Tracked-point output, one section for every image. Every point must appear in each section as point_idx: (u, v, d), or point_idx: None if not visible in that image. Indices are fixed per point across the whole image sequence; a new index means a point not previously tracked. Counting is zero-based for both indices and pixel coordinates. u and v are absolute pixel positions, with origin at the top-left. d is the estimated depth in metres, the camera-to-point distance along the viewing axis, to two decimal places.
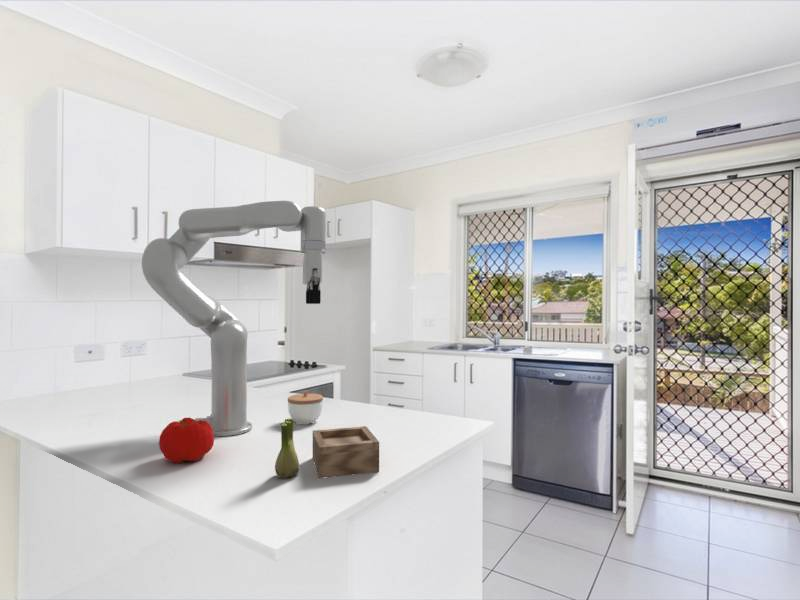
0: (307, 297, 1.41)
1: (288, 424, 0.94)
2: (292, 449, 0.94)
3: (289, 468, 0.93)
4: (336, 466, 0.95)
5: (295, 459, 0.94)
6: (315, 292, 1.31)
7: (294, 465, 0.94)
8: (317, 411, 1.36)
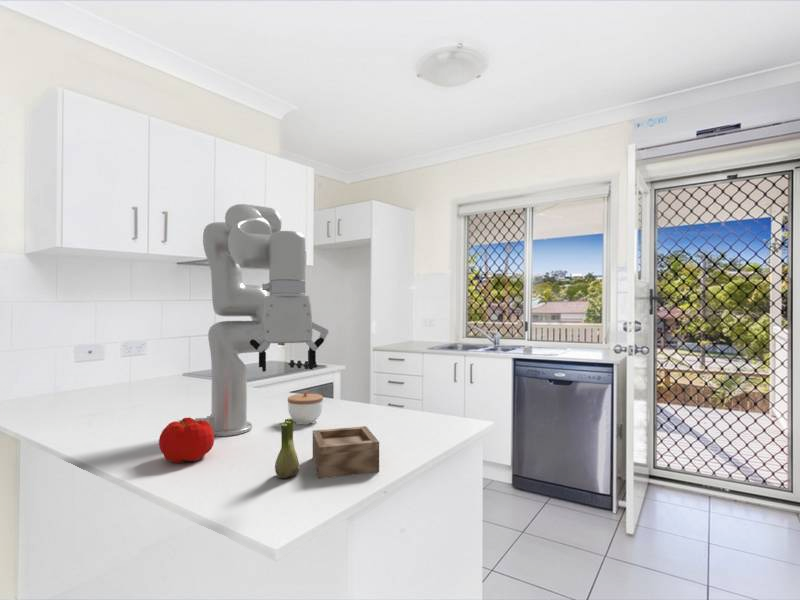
0: (265, 362, 0.93)
1: (288, 424, 0.94)
2: (292, 449, 0.94)
3: (289, 468, 0.93)
4: (336, 466, 0.95)
5: (295, 459, 0.94)
6: None
7: (294, 465, 0.94)
8: (317, 411, 1.36)
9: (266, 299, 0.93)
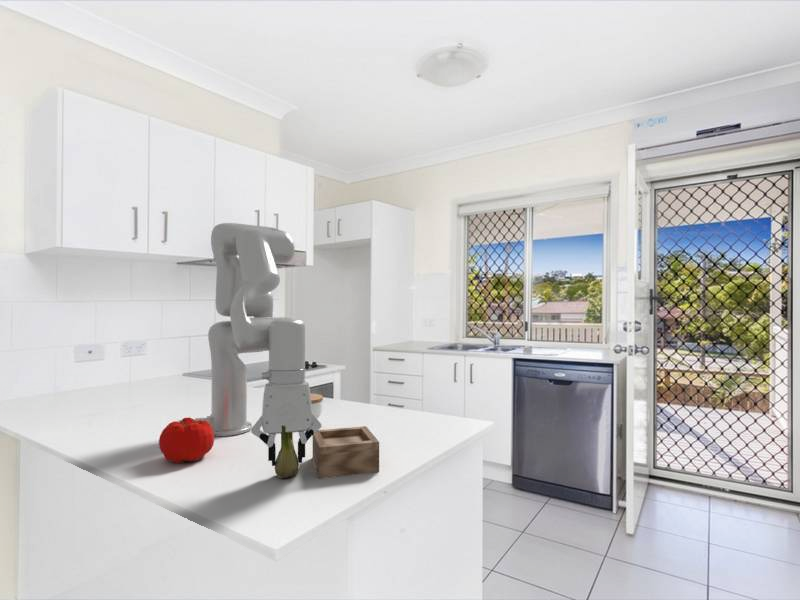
0: None
1: None
2: (292, 449, 0.94)
3: (288, 468, 0.93)
4: (336, 466, 0.95)
5: (295, 459, 0.94)
6: None
7: (294, 465, 0.94)
8: (317, 411, 1.36)
9: (266, 389, 0.92)
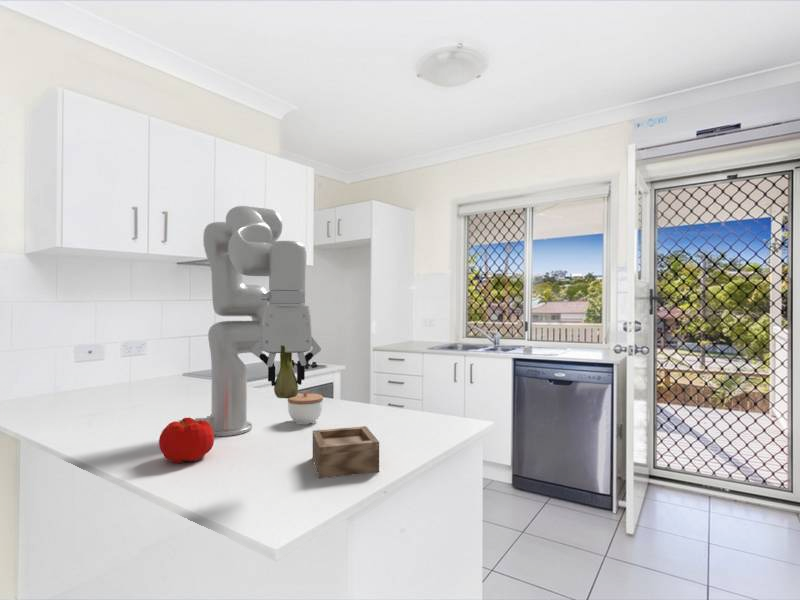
0: (274, 376, 0.94)
1: None
2: (291, 370, 0.95)
3: (288, 388, 0.93)
4: (336, 466, 0.95)
5: (294, 380, 0.95)
6: None
7: (294, 386, 0.94)
8: (317, 411, 1.36)
9: (266, 309, 0.93)
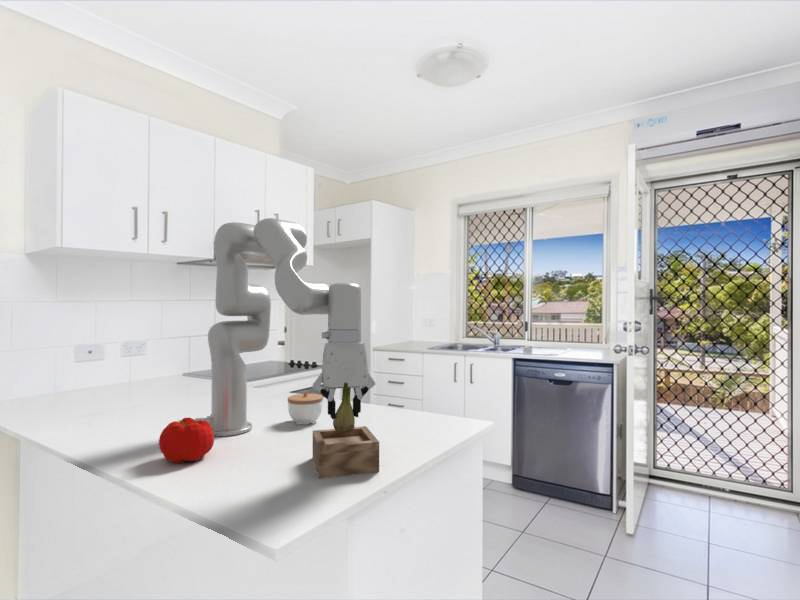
0: (334, 410, 1.00)
1: None
2: (350, 406, 1.01)
3: (347, 423, 1.00)
4: (336, 466, 0.95)
5: (352, 416, 1.01)
6: None
7: (352, 421, 1.01)
8: (317, 411, 1.36)
9: (326, 347, 0.99)
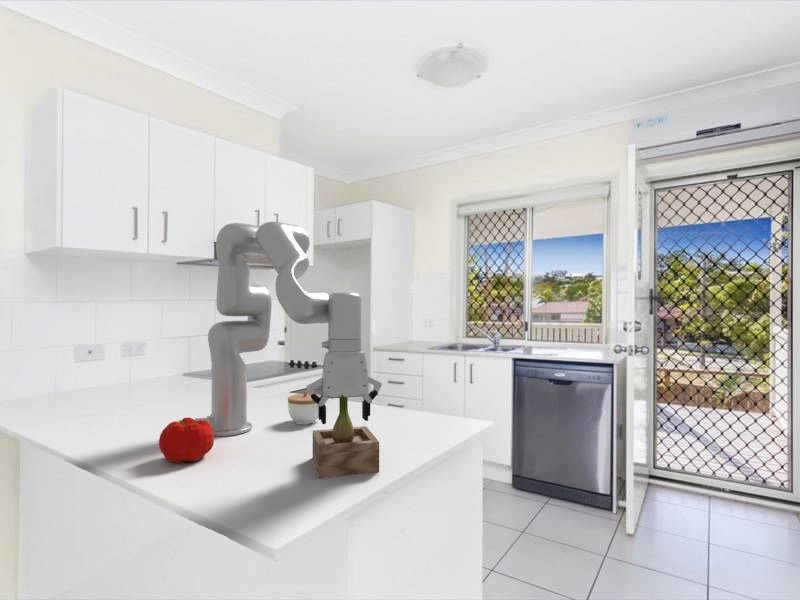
0: (325, 415, 1.00)
1: None
2: (348, 417, 1.01)
3: (346, 434, 1.00)
4: (336, 466, 0.95)
5: (351, 426, 1.01)
6: None
7: (351, 432, 1.01)
8: (317, 411, 1.36)
9: (326, 357, 0.99)
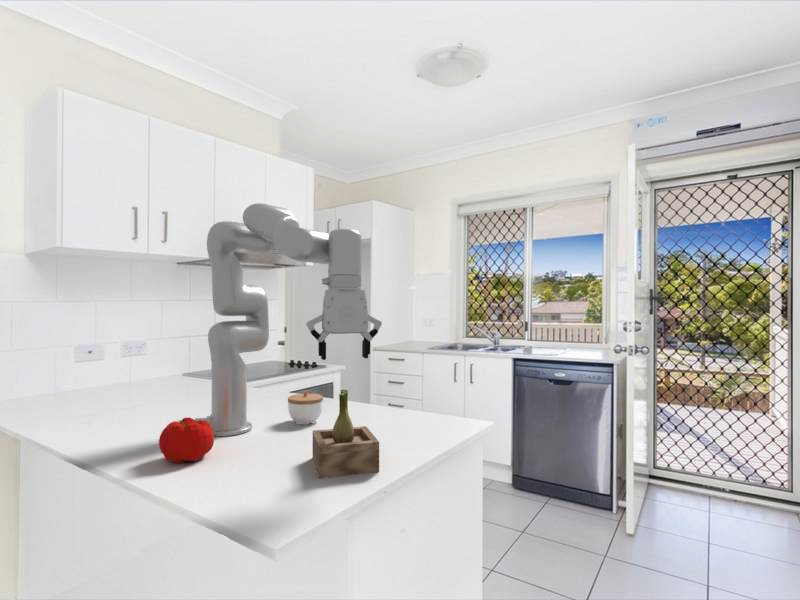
0: (325, 351, 1.00)
1: (345, 394, 1.01)
2: (348, 417, 1.01)
3: (346, 435, 1.00)
4: (336, 466, 0.95)
5: (351, 426, 1.01)
6: None
7: (351, 432, 1.01)
8: (317, 411, 1.36)
9: (327, 292, 0.99)
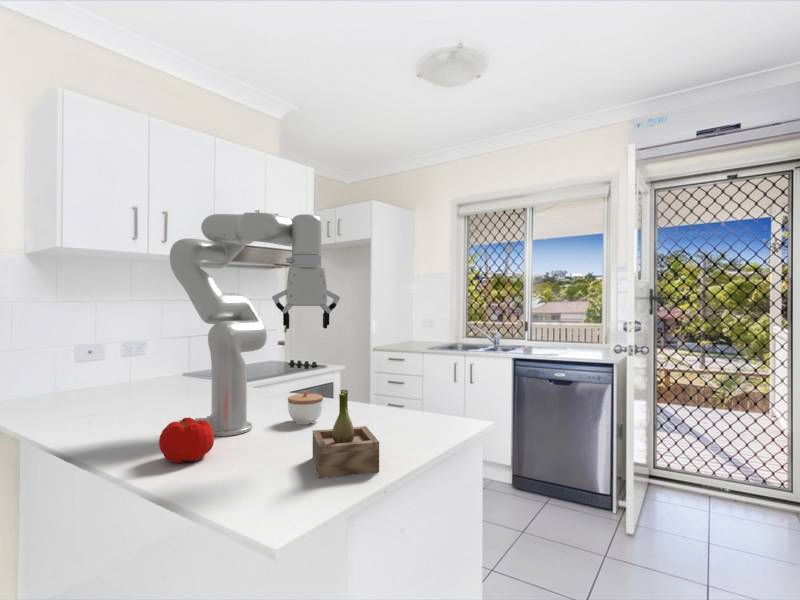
0: None
1: (345, 394, 1.01)
2: (348, 417, 1.01)
3: (346, 435, 1.00)
4: (336, 466, 0.95)
5: (351, 426, 1.01)
6: (328, 315, 1.18)
7: (351, 432, 1.01)
8: (317, 411, 1.36)
9: (290, 270, 1.14)
